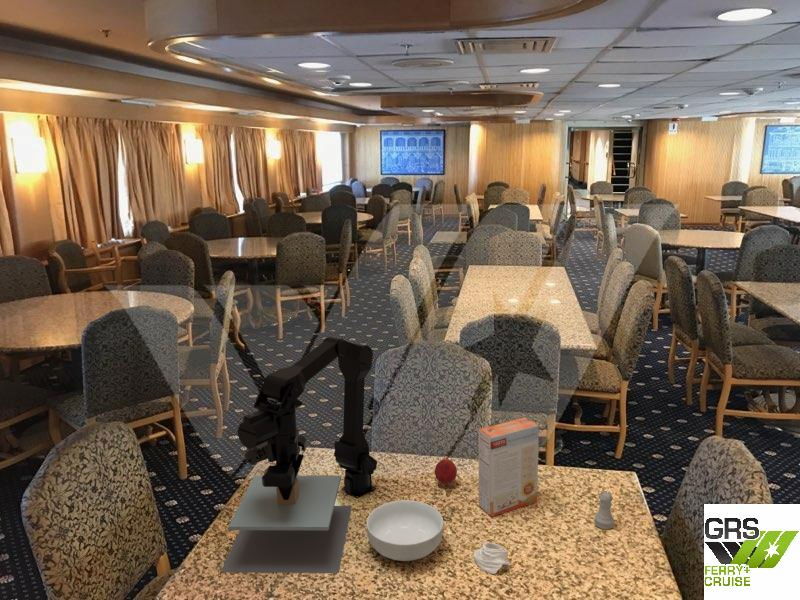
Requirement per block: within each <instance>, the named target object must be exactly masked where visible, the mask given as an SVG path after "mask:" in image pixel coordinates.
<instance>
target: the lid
mask: <svg viewBox="0 0 800 600" xmlns="http://www.w3.org/2000/svg"><path fill="white" fill-rule="evenodd" d="M262 476H263V474H261V475H256V474H255V475H254V476H253V477H252V479H251V481H250V483H249V485H248V487H247V489H246V491H245V493H244V495H243V497H242V499H241V500H240V503H239V505H238V506H237V508H236V510H235V513H234V515H233V517H232V518H231V521H230V522H229V524H228V527H227V529H228V530H227V531H240V530H329V526H330V522H331V517H332V513H333V509H334V506H336V501H337V496H338V492H339V488H340V484H341V479H342V475H340V474H339V475H337V474H335V475H331V474H330V475H327V474H326V475H316V474H315V475H313V474H311V475H310V474H309V475H307V474H306V475H304V474H303V475H302V474H301V475H300V474H299V475H298V474H297V477H296V479H295V482H294V485H293V488H292V491H291V494H290V497H289V499H288V500H283V497H282V495H281V493H280V490H279V488H278V487H264V486H263V485H262Z"/></svg>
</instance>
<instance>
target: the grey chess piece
mask: <svg viewBox="0 0 800 600" xmlns="http://www.w3.org/2000/svg"><path fill="white" fill-rule="evenodd" d="M597 497H598V499H599V501H598V503H599V504H598V505H599V507H598V512H597V513H596V514H595V516H594V520H593V522H594V525H595V526H596V527H597V528H599V529H602V530H610V529H612V528H613V527H614V526H615V524H614V523H615V520H614V519H615V518H614V517H613V514H612V511H611V506H613V504H612V501H613V500H614V497H613V496H612V493H611V492H610V491H608V492H607V490H602V491H600V492H599V494H598V496H597Z"/></svg>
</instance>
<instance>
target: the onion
mask: <svg viewBox="0 0 800 600" xmlns="http://www.w3.org/2000/svg"><path fill="white" fill-rule="evenodd" d="M456 466H457V465H456V464H455V463H454V462H453V461H452V459H451V460H450V459H449V456H447V455H445V456H444V457H443V458H442V459H441V460H440V461H439V462H437V464H436V465H435V468H434V476H435V478H436V480H437V481H438V482H439V483H441V484H442V485H445V486H446V485H447V486H448V485H450V484H451V483H452V482H453V481H454V480H456V478H457V474H458V469H457V467H456Z"/></svg>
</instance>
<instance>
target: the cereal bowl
mask: <svg viewBox="0 0 800 600" xmlns="http://www.w3.org/2000/svg"><path fill="white" fill-rule="evenodd" d="M365 524H366V534H367V538H368V541H369V543H370V545H371V547H372V548H373V549H374V550H375V551H376V552H377V553H379V554H380V555H381V556H383V557H385V558H388V559H390V560H394V561H401V562H410V561H417V560H419V559H423V558H424V557H425V558H426V557H427V556H429V555H430V554H431V553H433V551H435V549H437V547H438V546H439V544H440V543H441V541H442V537H443V533H444V526H445V525H444V518H443V516H442V514H441V512H440V511H438V510H437V509H436V508H435V507H433V506H431V505H430V504H428V503H425V502H422V501H418V500H417V501H416V500H410V499H401V500H400V499H399V500H394V501H390V502H389V501H388V502H386V503H382V504H381V505H378V506H377V507H376V508H374V509H372V511H371V512H370V513H369V515H368V516H367V519H366V522H365Z"/></svg>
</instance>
